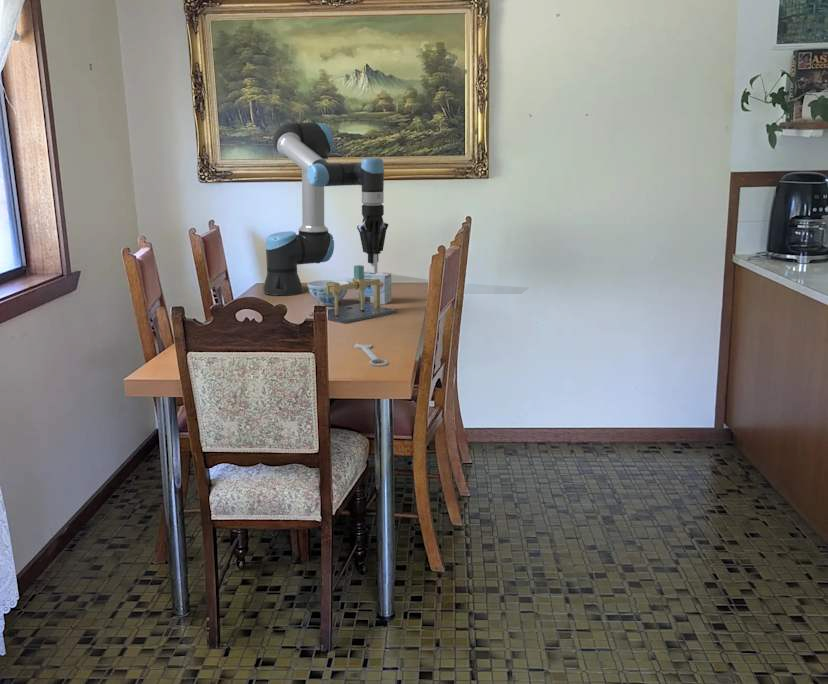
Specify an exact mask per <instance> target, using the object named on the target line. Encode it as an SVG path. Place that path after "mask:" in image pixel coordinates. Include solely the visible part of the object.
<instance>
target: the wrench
mask: <svg viewBox="0 0 828 684" xmlns="http://www.w3.org/2000/svg"><path fill="white" fill-rule="evenodd" d="M353 347H354V348H355V349H357V348H358V349H357V350H362V351H363V352H364V353H365V354H366V355H367V356H368V357H369V358H370V360H369V366H371V367H385V366H387V365H388V361H387V360H386V359H382V358H379V357H378V356H377V355H376V354H375V353H374V352H373V351H372V348H373V344H372V343H371V344H361V343H356V344H354V345H353ZM371 347H372V348H371ZM382 362H384V363H382Z"/></svg>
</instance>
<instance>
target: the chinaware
mask: <svg viewBox="0 0 828 684" xmlns="http://www.w3.org/2000/svg"><path fill="white" fill-rule="evenodd" d="M326 282H337V283H340V285H343V284H349V281H345V280H341V279H340V280H338V279H322V280H316V281H315V280H314V281H309V282H308V283H307V289H308V292H309V294H310V295H311V296H312V298H313V299H314V300H316V301H317V302H318V303H319V304H320V303H323V304H321V305H320V306H322V305H326V306H325V307H332V306H334V307H335V295H333V294H327V285H326ZM348 291H349V289H347V290H341V291H340V295H338V303H339V302H340V301H341V300H343V298H344V297H346V294H347V292H348Z"/></svg>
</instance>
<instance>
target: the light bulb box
mask: <svg viewBox="0 0 828 684" xmlns="http://www.w3.org/2000/svg"><path fill="white" fill-rule="evenodd" d="M364 279H366V281H367V280H373V279H380V305H386V304H388V302H389V303H391V302H392V299H393V298H392V272H380V271H379V272H378V271H377V273H372V272H369V270H368V271H364ZM365 287H366V290H364V304H374V286H373V285H371V286H365ZM358 295H359V296H358V302H359V303H361V291H359V290H358ZM390 301H391V302H390Z"/></svg>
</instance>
